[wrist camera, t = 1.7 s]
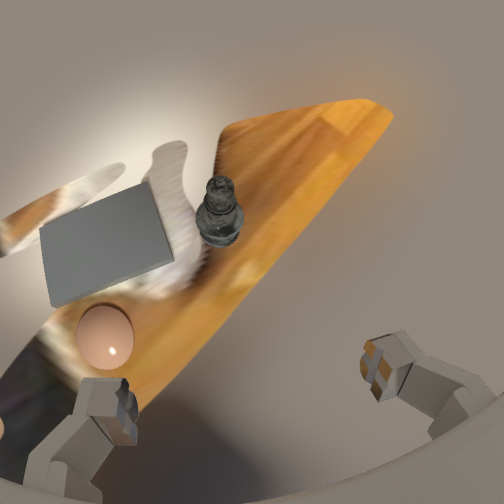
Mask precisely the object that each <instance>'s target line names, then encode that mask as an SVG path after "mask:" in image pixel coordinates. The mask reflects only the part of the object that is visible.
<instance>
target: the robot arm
mask: <svg viewBox="0 0 504 504" xmlns="http://www.w3.org/2000/svg"><path fill="white" fill-rule="evenodd" d="M364 350H365V351H366V352H365V353H364V355H363V356H362V357H361V360H360V372H361V374H362V377H363V378H364V380H365V381H366V382H368V383H370V384H371V389H370V390H371V392H372V393H373V395H374V397H375V398H376V400H377V402H378V403H379V402H381V401H384V400H387V399H390V398H393V397H396V396H398V398H400V399H402V400H403V401H405V402H406V403H408V404H410V405H411V406H413V407H415V408H416V409H418V410H419V411H421V412H423V413H425V414H426V415H428V416H429V417H431V418H433V419H434V421H433V423H432V424H431V425H430V427H429V428H428V431H427V432H428V433H429V435H430V437H431V438H432V441H430V442H428V443H427V444H424V445H423V446H421V447H419V448H417V449H415V450H413V451H411V452H409V453H407V454H405V455H403V456H401V457H399V458H397V459H394V460H392V461H390V462H388V463H385V464H383V465H381V466H379V467H376V468H374V469H371V470H369V471H366V472H364V473H361V474H358V475H356V476H353V477H350V478H348V479H344V480H342V481H339V482H336V483H332V484H329V485H326V486H323V487H320V488H316V489H312V490H309V491H305V492H301V493H297V494H293V495H289V496H284V497H279V498H274V499H269V500H264V501H258V502H253V503H245V504H504V392H503V393H502V394H500V395H499V396H498V397H496V396H495V394H493V392H492V391H491V389H490V388H489V387H488V386H487V385H486V384H485V382H484V381H483V380H482V379H481V378H480V377H479V375H476V374H474V373H471V372H468V371H466V370H464V369H461V368H459V367H456V366H454V365H451V364H449V363H446V362H444V361H441V360H439V359H436V358H434V357H432V356H428V357H427V356H426V355H425V354H424V353H423V351H422V350H421V349H420V348H419V347H418V346H417V345H416V343H415V342H414V341H413V340H412V339H411V338H410V336H409V335H408V334H407V333H406V332H405V331H403V330H400V331H397V332H394V333H391V334H387V335H383V336H380V337H377V338H374V339H370V340H367V341H366V343H365V345H364ZM138 412H139V411H138V403H137V400H136V397H135V395H134V393H133V392H131V391H130V390H129V383H128V381H127V379H126V378H84V379H83V380H82V381H81V384H80V388H79V391H78V395H77V399H76V403H75V407H74V411H73V415H68V416H67V417H66V418H65V419H64V420H63V421H62V422H61V423H60V424H59V425H58V426H57V427H56V428H55V429H54V430H53V431H52V432H51V433H50V434H49V435H48V436H47V437H46V438H45V439H44V440H43V441H42V442H41V443H40V444H39V445H38V446H37V447H36V448H35V449H34V450H33V451H32V452H31V453H30V454H29V457H28V462H27V466H26V471H25V476H24V481H23V486H22V485H19V484H16V483H13V482H10V481H8V480H5V479H2V478H0V504H102V493H101V492H100V490H98V489H97V488H96V487H94V486H93V485H92V484H90V483H89V482H90V480H91V479H92V477H93V476H94V474H95V473H96V471H97V470H98V468H99V467H100V466H101V464H102V463H103V461H104V460H105V458H106V457H107V456H108V454H109V452H110V451H111V450H112V448H113V447H114V446H113V445H136V443H137V428H136V426H135V425H134V423H135V421H136V420H137V419H138Z"/></svg>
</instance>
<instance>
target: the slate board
mask: <svg viewBox="0 0 504 504" xmlns="http://www.w3.org/2000/svg"><path fill="white" fill-rule="evenodd" d="M39 231H40V241H41V249H42V256H43V264H44V270H45V276H46V282H47V287H48V292H49V298H50V302H51V306H52V307H55V308H59V307H61V306H64V305H66V304H69V303H71V302H74V301H76V300H78V299H81V298H83V297H86V296H88V295H91V294H93V293H96V292H98V291H101V290H103V289H106V288H108V287H111V286H113V285H116V284H118V283H121V282H123V281H126V280H128V279H131V278H133V277H136V276H138V275H141V274H143V273H146V272H148V271H151V270H153V269H156V268H159V267H161V266H164V265H166V264H169V263H171V262H174V259H173V256H172V253H171V250H170V248H169V245H168V242H167V239H166V236H165V233H164V230H163V228H162V225H161V222H160V219H159V216H158V213H157V210H156V207H155V203H154V200H153V197H152V194H151V191H150V188H149V185H148V182H144V183H141V184H139V185H136V186H133V187H131V188H128V189H126V190H123V191H121V192H118V193H116V194H113V195H111V196H109V197H106V198H104V199H101V200H99V201H97V202H94V203H92V204H90V205H88V206H85V207H83V208H81V209H79V210H76V211H74V212H72V213H70V214H68V215H65V216H63V217H61V218H59V219H57V220H55V221H53V222H51V223H49V224H47V225H45V226H43V227H41V228H39Z"/></svg>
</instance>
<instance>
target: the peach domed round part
mask: <svg viewBox="0 0 504 504" xmlns="http://www.w3.org/2000/svg"><path fill="white" fill-rule="evenodd" d="M76 339H77V345H78V348H79V351H80V353H81V355H82V356H83V358H84V359H85V360H86V361H87V362H88V363H89V364H91V365H92V366H94V367H96V368H99V369H106V370H108V369H114V368H117V367H120V366H121V365H123V364H124V363H125V362H126V361H127V360H128V359H129V357H130V356H131V354H132V351H133V348H134V341H135V339H134V331H133V328H132V325H131V323H130V322H129V320H128V319H127V317H126V316H125V315H124V314H123V313H122V312H120V311H119V310H117V309H115V308H112V307H109V306H98V307H94V308H92V309H90V310H89V311H88V312H86V313H85V314H84V316H83V317H82V318H81V320H80V322H79V324H78V327H77V334H76Z"/></svg>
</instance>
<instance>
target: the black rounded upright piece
mask: <svg viewBox="0 0 504 504" xmlns="http://www.w3.org/2000/svg"><path fill="white" fill-rule="evenodd" d="M206 190H207V193H206V195H205V196H204V202H203V203H202V204H200V206H199V208H198V209H197V212H196V224H197V227H198V228H199V230H200V235H201V237H202V239H203V240H204V241H205V242H206V243H207V244H208V245H210V246H213V247H217V248H221V247H226V246H229V245H231V244H232V243H233V242H234V241H235V240H236V239H237V237H238V235H239V231H240V229H241V227H242V225H243V221H244V213H243V210H242V208H241V206H240V205H239V204H238V203H237V201H236V197H235V195H234V184H233V182H232V181H231V179H229V178H228V177H226V176H221V175H220V176H214V177H212V178H211V179H210V180H209V181H208V183H207V186H206Z"/></svg>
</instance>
